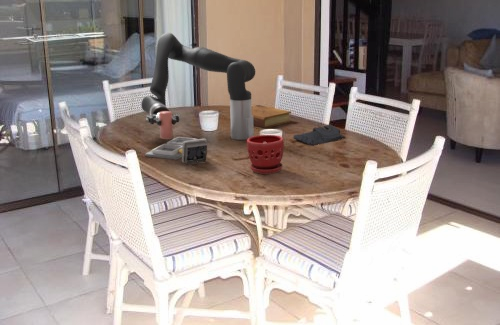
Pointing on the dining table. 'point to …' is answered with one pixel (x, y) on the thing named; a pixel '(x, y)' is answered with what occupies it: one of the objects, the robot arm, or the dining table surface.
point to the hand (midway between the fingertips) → (167, 122)
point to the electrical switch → (194, 151)
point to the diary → (269, 116)
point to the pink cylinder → (166, 125)
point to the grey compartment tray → (169, 149)
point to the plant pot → (265, 153)
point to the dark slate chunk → (320, 135)
